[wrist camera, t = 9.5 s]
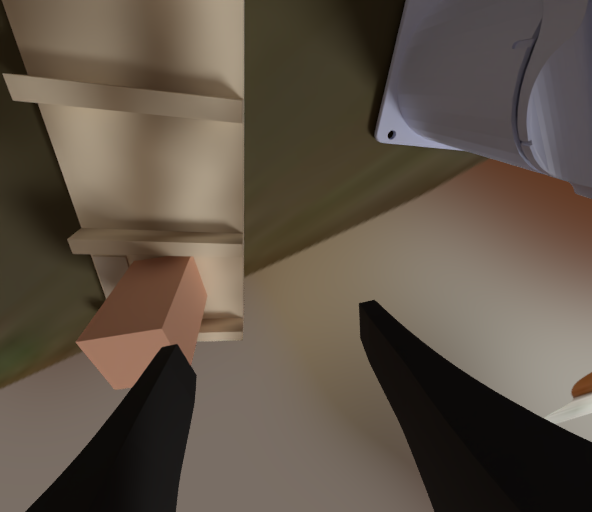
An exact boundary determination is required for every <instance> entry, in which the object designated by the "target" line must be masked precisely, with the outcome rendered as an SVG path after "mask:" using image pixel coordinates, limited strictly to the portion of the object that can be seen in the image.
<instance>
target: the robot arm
mask: <svg viewBox="0 0 592 512" xmlns="http://www.w3.org/2000/svg"><path fill="white" fill-rule="evenodd" d="M390 131H393V136H392V137H391V138H388V133H389V132H390ZM374 137H375V139H376V140H377V141H378V142H381V143H389V144H400V145H410V146H420V147H431V148H441V149H451V150H462V151H468V152H471V153H475V154H478V155H481V156H485V157H488V158H491V159H495V160H498V161H502V162H505V163H508V164H511V165H515V166H518V167H522V168H525V169H528V170H532V171H535V172H538V173H542V174H546V175H548V176H552V177H554V178H558V179H561V180H564V181H568V182H570V183H571V185H572V186H573V187H574V191H575V193H576V194H579V195H582V196H585V197H588V198H591V199H592V0H406V1H405V5H404V10H403V14H402V18H401V22H400V27H399V31H398V35H397V39H396V44H395V48H394V52H393V56H392V61H391V65H390V69H389V73H388V78H387V82H386V86H385V90H384V95H383V99H382V103H381V107H380V112H379V116H378V120H377V124H376V128H375V133H374ZM359 313H360V314H359V315H360V338H361V341H362V344H363V346H364V349H365V352H366V355H367V357H368V360H369V362H370V365H371V367H372V369H373V371H374V373H375V375H376V377H377V378H378V381H379V383H380V385H381V387H382V389H383V390H384V393H385V395H386V396H387V399H388V401H389V402H390V405H391V407H392V409H393V411H394V413H395V415H396V417H397V418H398V421H399V423H400V425H401V427H402V429H403V432H404V434H405V437H406V439H407V442H408V444H409V447H410V449H411V452H412V454H413V457H414V459H415V462H416V464H417V467H418V470H419V472H420V475H421V477H422V480H423V482H424V485H425V487H426V490H427V493H428V496H429V498H430V501H431V503H432V506H433V509H434V512H592V442H590V441H588V440H586V439H583V438H582V437H579V436H577V435H575V434H573V433H571V432H569V431H567V430H565V429H563V428H561V427H559V426H557V425H555V424H553V423H551V422H550V421H548V420H546V419H544V418H542V417H540V416H538V415H536V414H534V413H533V412H531V411H529V410H527V409H525V408H524V407H522V406H520V405H518V404H516V403H515V402H513V401H511V400H509V399H508V398H505V397H504V396H502V395H500V394H499V393H497V392H495V391H494V390H492V389H490V388H489V387H487V386H486V385H484V384H482V383H480V382H479V381H478V380H476V379H474V378H473V377H471V376H470V375H468V374H467V373H465V372H463V371H462V370H461V369H459V368H458V367H456V366H455V365H453V364H452V363H450V362H449V361H448V360H446V359H445V358H443V357H442V356H441V355H439V354H438V353H436V352H435V351H434V350H433V349H431V348H430V347H429V346H427V345H426V344H425V343H423V342H422V341H421V340H420V339H419V338H417V337H416V336H415V335H413V334H412V333H411V332H410V331H409V330H407V329H406V328H405V327H404V326H403V325H402V324H400V323H399V322H398V321H397V320H396V319H395V318H394V317H393V316H391V315H390V314H389V313H388V312H387V311H386V310H385V309H384V308H383V307H382V306H381V305H380V304H379V303H377V302H376V301H375V300H372V301H368V302H363V303H359ZM195 391H196V374H195V372H194V370H193V369H192V367H191V365H190V364H189V362H188V360H187V359H186V357H185V355H184V354H183V352H182V350H181V349H180V347H179V345H178V344H174V345H169V346H165V347H161V349H160V350H159V351H158V353H157V354H156V355H155V357H154V358H153V359H152V361H151V362H150V364H149V365H148V366H147V368H146V369H145V371H144V372H143V373H142V375H141V376H140V378H139V379H138V380H137V382H136V383H135V384H134V386H133V387H132V388H131V390H130V391H129V392H128V394H127V395H126V396H125V398H124V399H123V401H122V402H121V403H120V404H119V406H118V407H117V408H116V410H115V411H114V412H113V413H112V415H111V416H110V417H109V418H108V420H107V421H106V422H105V423H104V425H103V426H102V427H101V429H100V430H99V431H98V432H97V433H96V435H95V436H94V437H93V438H92V440H91V441H90V442H89V443H88V445H87V446H86V447H85V448H84V449H83V450H82V451H81V453H80V454H79V455H78V456H77V457H76V458H75V460H73V462H72V463H71V464H70V465H69V466H68V467H67V468H66V470H65V471H64V472H63V473H62V474H61V475H60V476H59V477H58V478H57V479H56V481H55V482H54V483H53V484H52V485H51V486H50V487H49V488H48V489H47V490H46V491H45V492H44V493H43V494H42V495H41V496H40V497H39V498H38V499H37V500H36V501H35V502H34V503H33V504H32V505H31V506H30V507H29V508H28V510H27V511H26V512H176V505H177V496H178V487H179V480H180V474H181V468H182V464H183V459H184V453H185V449H186V444H187V438H188V434H189V429H190V423H191V419H192V413H193V408H194V403H195Z"/></svg>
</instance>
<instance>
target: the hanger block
mask: <svg viewBox="0 0 592 512" xmlns="http://www.w3.org/2000/svg"><path fill="white" fill-rule="evenodd" d="M206 300H207V293H206V290H205V287H204V285H203V282H202V279H201V276H200V274H199V271H198V268H197V265H196V263H195V260H194V257H193V256H165V257H158V258H152V259H145V260H138V261H133V263H132V264H131V265H130V267H129V268H128V270H127V271H126V272H125V274H124V275H123V277H122V278H121V279H120V281H119V282H118V284H117V285H116V286H115V288H114V289H113V291H112V292H111V293H110V295H109V296H108V298H107V299H106V300H105V302H104V303H103V305H102V306H101V307H100V309H99V310H98V312H97V313H96V314H95V316H94V317H93V319H92V320H91V321H90V323H89V324H88V326H87V327H86V328H85V330H84V331H83V332H82V334H81V335H80V337H79V338H78V339H77V341H76V343H77V345H78V346H79V347H80V348H81V349H82V351H83V352H84V353H85V354H86V355H87V357H88V358H89V359H90V360H91V362H92V363H93V364H94V365H95V366H96V368H97V369H98V370H99V371H100V373H101V374H102V375H103V376H104V377H105V378H106V380H107V381H108V382H109V383H110V385H111V386H112V387H113V388H114V390H118V389H124V388H130V387H133V386H134V384H135V383H136V382H137V380H138V379H139V378H140V376H141V375H142V373H143V372H144V371H145V369H146V368H147V366H148V365H149V364H150V362H151V361H152V359H153V358H154V357H155V355H156V354H157V353H158V351H159V350H160V349H161V347H165V346H169V345H174V344H178V345H179V347H180V349H181V350H182V352H183V354H184V355H185V357H186V359H187V360H188V362H189V364H190V365H191V364H192V359H193V355H194V351H195V347H196V343H197V338H198V334H199V330H200V326H201V321H202V317H203V313H204V309H205V305H206Z"/></svg>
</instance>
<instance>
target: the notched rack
mask: <svg viewBox="0 0 592 512" xmlns="http://www.w3.org/2000/svg"><path fill="white" fill-rule="evenodd" d="M2 2H3V5H4V8H5V11H6V14H7V17H8V20H9V22H10V25H11V28H12V31H13V34H14V37H15V40H16V42H17V45H18V48H19V51H20V54H21V57H22V60H23V62H24V65H25V68H26V71H27V74H28V75H21V74H4V73H2V74H3V76H4V79H5V82H6V84H7V87H8V89H9V92H10V94H11V97H12V99H13V101H23V102H33V103H38V105H39V108H40V111H41V114H42V117H43V120H44V122H45V125H46V128H47V131H48V134H49V137H50V140H51V143H52V145H53V148H54V151H55V154H56V157H57V160H58V163H59V165H60V168H61V171H62V174H63V177H64V180H65V183H66V185H67V188H68V191H69V194H70V197H71V200H72V203H73V205H74V208H75V211H76V214H77V217H78V220H79V223H80V225H81V229H79V230H78V231H77V232H76V233H74V234H73V235H72V236H71V237H69V238H68V239H67V240H68V243H69V246H70V248H71V251H72V253H73V254H91V257H92V260H93V263H94V265H95V268H96V271H97V274H98V277H99V280H100V283H101V285H102V288H103V291H104V294H105V297H106V299H107V298H108V296H109V295H110V293H111V292H112V291H113V289H114V288H115V286H116V285H117V284H118V282H119V281H120V279H121V278H122V277H123V275H124V274H125V272H126V271H127V270H128V268H129V267H130V265H131V264H132V263H133V261H138V260H145V259H152V258H158V257H165V256H193V257H194V260H195V263H196V265H197V268H198V271H199V274H200V276H201V279H202V282H203V285H204V287H205V290H206V293H207V300H206V305H205V309H204V313H203V317H202V321H201V326H200V330H199V334H198V338H197V341H234V340H243V321H244V0H2Z"/></svg>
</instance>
